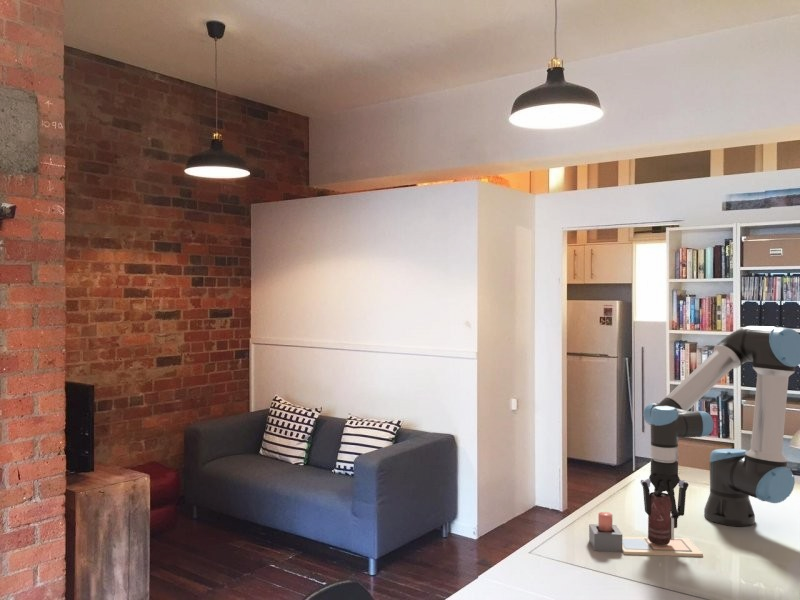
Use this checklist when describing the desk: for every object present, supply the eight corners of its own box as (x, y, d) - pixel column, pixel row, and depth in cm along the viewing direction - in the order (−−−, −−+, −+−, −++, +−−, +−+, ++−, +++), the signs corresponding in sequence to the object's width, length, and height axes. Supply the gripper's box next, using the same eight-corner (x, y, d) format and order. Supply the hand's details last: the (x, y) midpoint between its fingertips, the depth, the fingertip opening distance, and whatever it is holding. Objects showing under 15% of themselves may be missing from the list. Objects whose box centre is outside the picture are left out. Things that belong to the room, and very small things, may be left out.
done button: (610, 527, 201) (610, 512, 200) (613, 531, 197) (613, 516, 197) (597, 526, 201) (597, 511, 201) (599, 531, 197) (599, 516, 197)
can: (672, 546, 194) (673, 498, 194) (649, 544, 195) (650, 496, 195) (669, 538, 200) (669, 492, 199) (646, 536, 201) (647, 490, 201)
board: (688, 540, 202) (688, 537, 202) (703, 556, 191) (703, 553, 190) (614, 538, 204) (614, 535, 204) (624, 554, 192) (624, 551, 192)
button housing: (616, 541, 202) (616, 524, 202) (622, 551, 194) (622, 534, 194) (589, 540, 203) (589, 524, 203) (594, 550, 195) (594, 533, 195)
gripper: (688, 456, 200) (688, 534, 200) (632, 455, 201) (632, 533, 202) (697, 463, 192) (697, 543, 193) (639, 462, 194) (639, 542, 194)
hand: (664, 538), depth 197 cm, fingers open, 3 cm apart
